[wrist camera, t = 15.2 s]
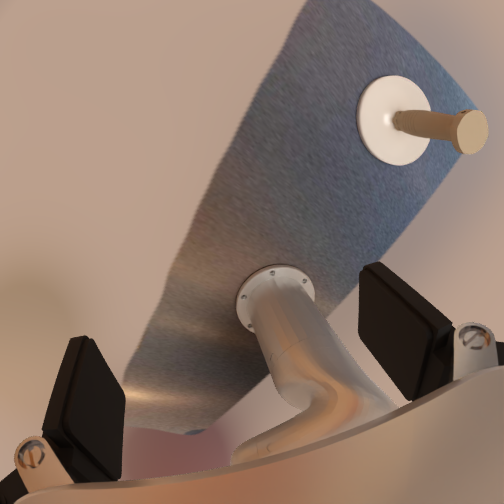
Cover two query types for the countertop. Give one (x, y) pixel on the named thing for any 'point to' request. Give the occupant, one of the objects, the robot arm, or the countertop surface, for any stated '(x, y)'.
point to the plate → (390, 119)
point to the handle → (446, 127)
